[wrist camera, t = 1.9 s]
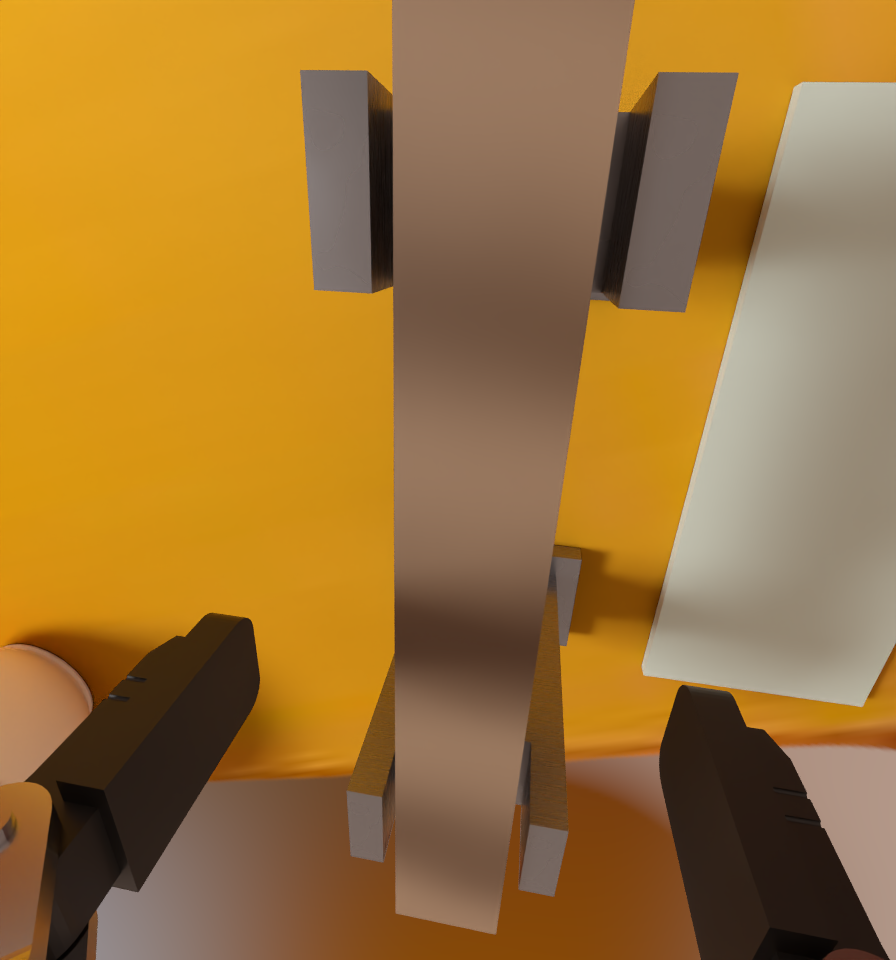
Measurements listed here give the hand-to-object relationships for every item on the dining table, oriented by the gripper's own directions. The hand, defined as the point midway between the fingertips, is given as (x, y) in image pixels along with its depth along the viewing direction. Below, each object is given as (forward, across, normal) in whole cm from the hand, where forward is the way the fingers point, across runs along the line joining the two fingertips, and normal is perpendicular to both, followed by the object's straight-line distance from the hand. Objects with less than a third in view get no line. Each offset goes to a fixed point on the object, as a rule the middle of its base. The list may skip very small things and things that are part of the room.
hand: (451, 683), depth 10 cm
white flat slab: (+14, -13, 0) cm, 19 cm away
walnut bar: (+4, 0, 0) cm, 4 cm away
